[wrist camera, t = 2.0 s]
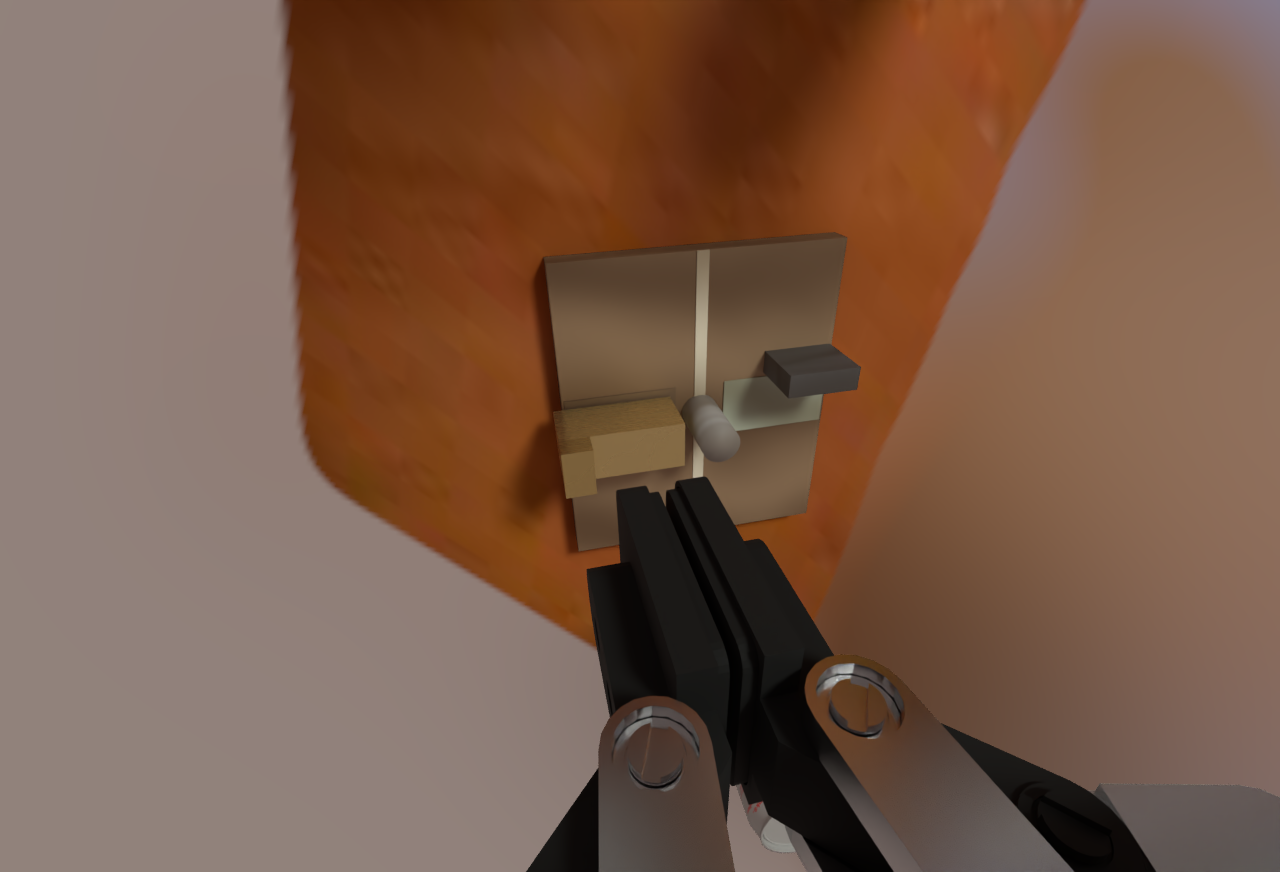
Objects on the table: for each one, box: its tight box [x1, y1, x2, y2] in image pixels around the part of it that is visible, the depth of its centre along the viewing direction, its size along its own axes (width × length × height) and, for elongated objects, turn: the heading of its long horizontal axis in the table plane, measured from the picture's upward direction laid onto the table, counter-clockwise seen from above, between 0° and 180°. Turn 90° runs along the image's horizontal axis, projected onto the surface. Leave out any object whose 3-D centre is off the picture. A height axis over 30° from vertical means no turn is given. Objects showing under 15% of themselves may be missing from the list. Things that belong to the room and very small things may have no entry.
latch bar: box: [553, 397, 685, 499], centre depth 23 cm, size 5×2×3 cm, turn 92°
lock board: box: [544, 232, 861, 551], centre depth 25 cm, size 14×12×4 cm
